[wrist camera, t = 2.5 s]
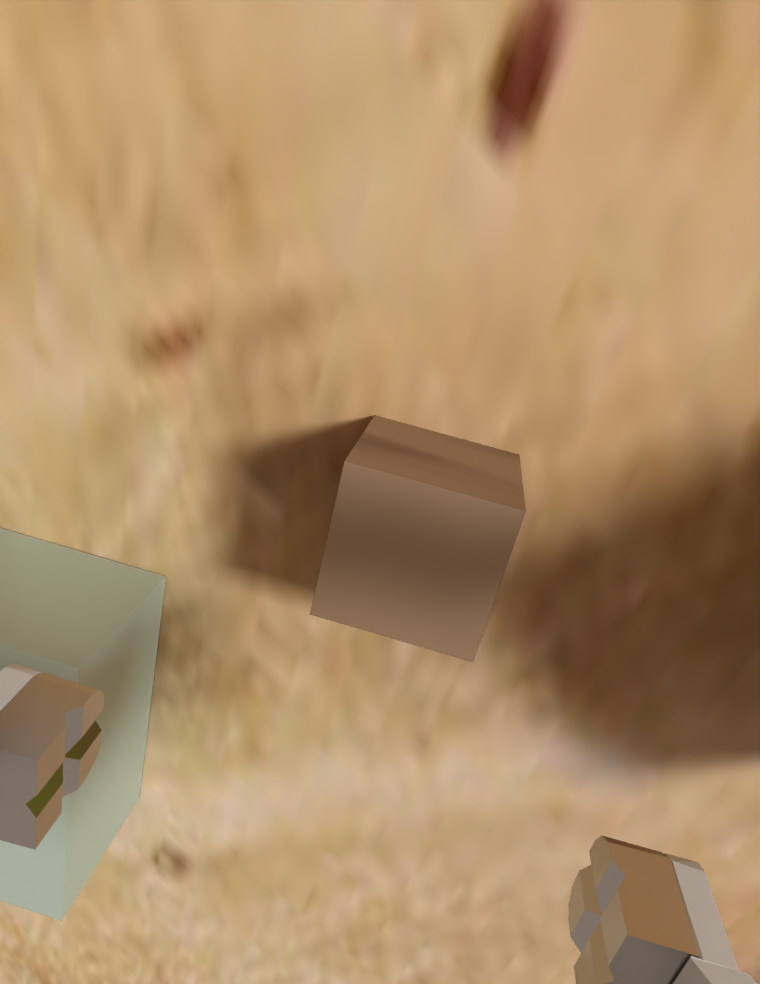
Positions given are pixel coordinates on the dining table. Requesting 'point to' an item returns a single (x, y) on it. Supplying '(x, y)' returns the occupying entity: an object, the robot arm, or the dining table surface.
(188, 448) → the dining table surface
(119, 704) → the block
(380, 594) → the walnut cube
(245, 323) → the dining table surface
